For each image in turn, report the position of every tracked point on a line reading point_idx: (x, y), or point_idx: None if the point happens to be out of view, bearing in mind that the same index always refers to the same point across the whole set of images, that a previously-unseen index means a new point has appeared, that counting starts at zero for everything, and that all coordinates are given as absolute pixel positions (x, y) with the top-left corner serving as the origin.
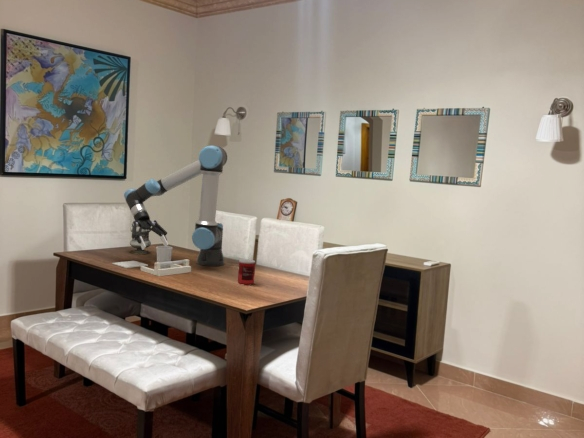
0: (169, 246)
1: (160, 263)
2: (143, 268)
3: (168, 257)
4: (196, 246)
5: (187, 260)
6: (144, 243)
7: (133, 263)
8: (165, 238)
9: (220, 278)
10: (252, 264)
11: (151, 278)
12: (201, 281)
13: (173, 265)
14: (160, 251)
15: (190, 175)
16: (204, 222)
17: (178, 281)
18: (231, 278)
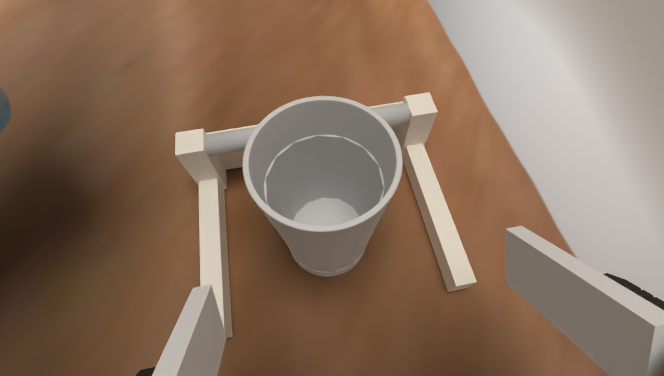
0: (248, 186)
1: (404, 97)
2: (460, 250)
3: (313, 151)
4: (9, 118)
5: (192, 132)
6: (536, 246)
7: None
8: (159, 362)
9: (173, 25)
10: None
11: (455, 98)
12: (276, 10)
13: (224, 284)
14: (378, 138)
15: None
16: None
17: (361, 30)
18: (134, 15)
